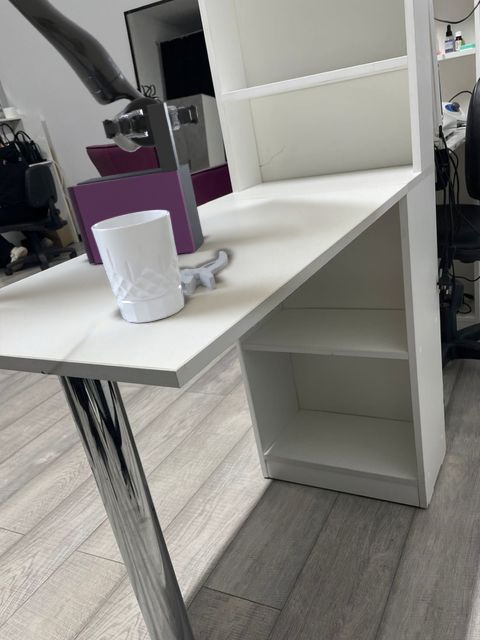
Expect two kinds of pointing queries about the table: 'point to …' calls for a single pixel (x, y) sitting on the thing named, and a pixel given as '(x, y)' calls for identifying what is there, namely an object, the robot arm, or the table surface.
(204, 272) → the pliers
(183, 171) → the file box
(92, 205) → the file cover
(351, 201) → the table surface
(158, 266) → the white cup
